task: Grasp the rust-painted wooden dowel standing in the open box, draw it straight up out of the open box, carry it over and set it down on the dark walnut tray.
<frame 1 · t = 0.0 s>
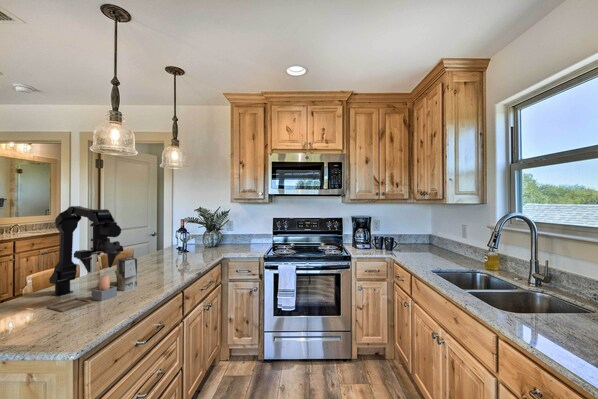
hand: (99, 269, 125), 15 cm above the counter, fingers open, 9 cm apart
dowel: (104, 297, 128), point 1 cm above the counter, touching open box
plant pot: (124, 284, 150), on the counter
coffee box: (126, 289, 143), on the counter
open box: (104, 298, 128), on the counter
tray: (70, 306, 118), on the counter
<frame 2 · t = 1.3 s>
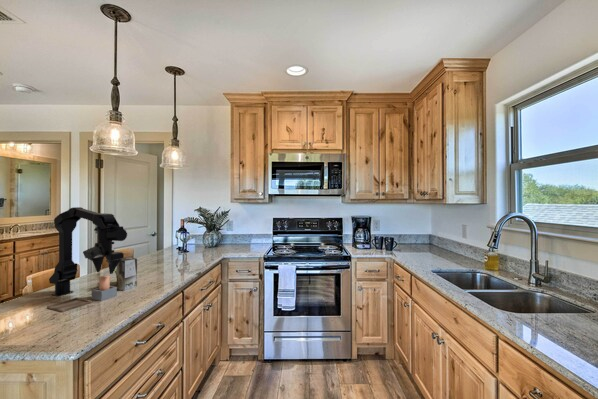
hand: (104, 272, 128), 12 cm above the counter, fingers open, 9 cm apart
nothing on the counter moved.
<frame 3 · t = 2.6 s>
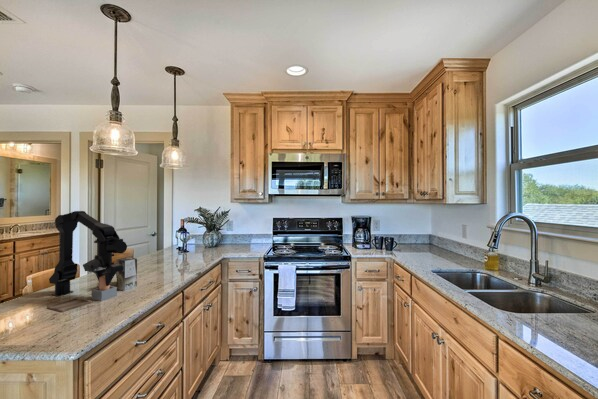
hand: (104, 285, 128), 7 cm above the counter, fingers closed on dowel, 4 cm apart
dowel: (104, 297, 128), point 1 cm above the counter, touching open box, gripper
everything else where it was.
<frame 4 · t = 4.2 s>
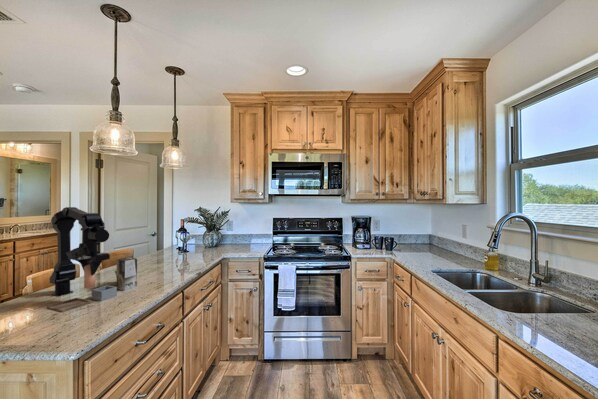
hand: (89, 274, 124), 13 cm above the counter, fingers closed on dowel, 4 cm apart
dowel: (89, 287, 124), point 7 cm above the counter, touching gripper
everything else where it was.
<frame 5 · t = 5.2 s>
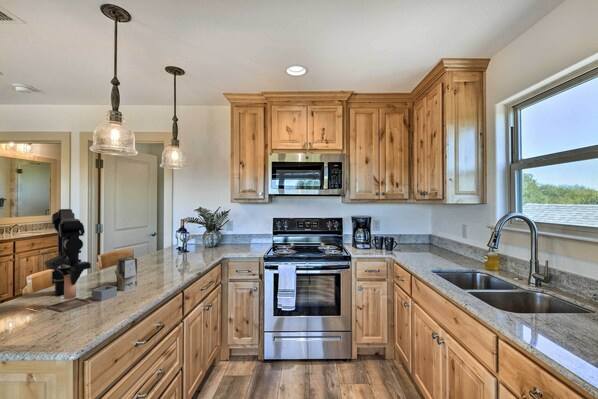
hand: (70, 284, 118), 10 cm above the counter, fingers closed on dowel, 4 cm apart
dowel: (70, 297, 118), point 4 cm above the counter, touching gripper
everything else where it was.
when the fingers open (8 cm above the counter, at t = 5.9 s): dowel stays where it is, resting on tray.
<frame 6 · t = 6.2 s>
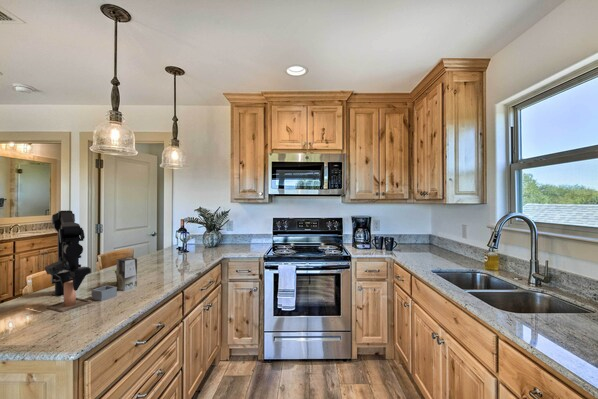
hand: (70, 289, 118), 8 cm above the counter, fingers open, 7 cm apart
dowel: (70, 304, 118), point 1 cm above the counter, touching tray
everything else where it was.
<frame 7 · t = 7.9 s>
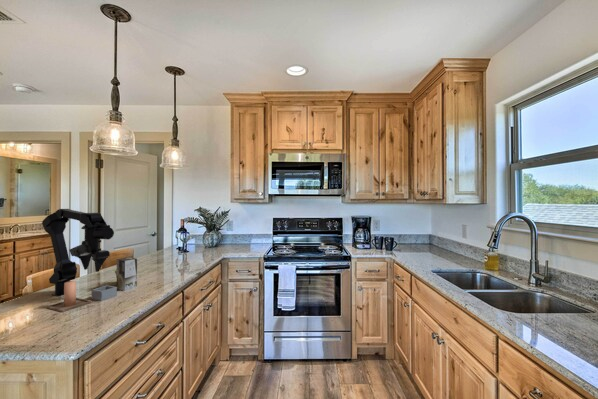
hand: (91, 270, 130), 13 cm above the counter, fingers open, 9 cm apart
nothing on the counter moved.
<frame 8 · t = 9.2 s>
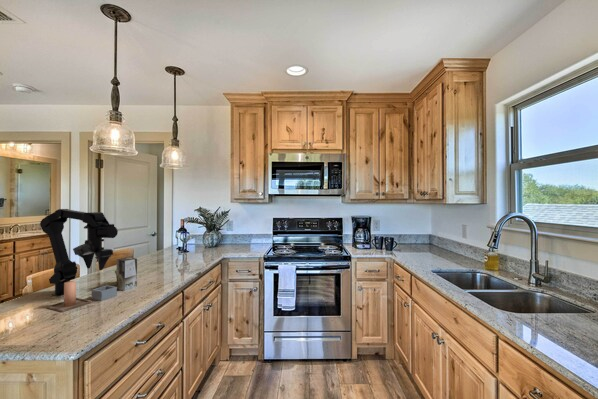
hand: (94, 269, 132), 13 cm above the counter, fingers open, 9 cm apart
nothing on the counter moved.
at the end: dowel inside the target area on the tray (0.1 cm from its centre), point 0.8 cm above the tray's base; dowel touching tray; the gripper is holding nothing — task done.
